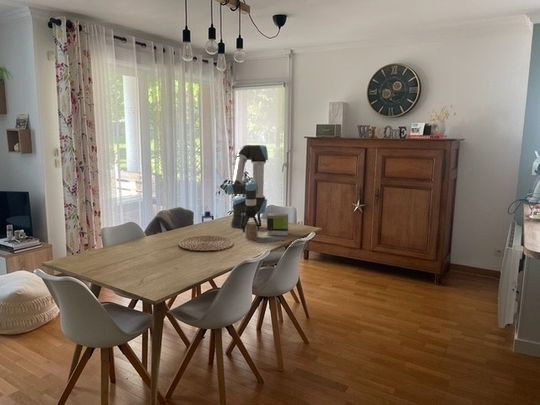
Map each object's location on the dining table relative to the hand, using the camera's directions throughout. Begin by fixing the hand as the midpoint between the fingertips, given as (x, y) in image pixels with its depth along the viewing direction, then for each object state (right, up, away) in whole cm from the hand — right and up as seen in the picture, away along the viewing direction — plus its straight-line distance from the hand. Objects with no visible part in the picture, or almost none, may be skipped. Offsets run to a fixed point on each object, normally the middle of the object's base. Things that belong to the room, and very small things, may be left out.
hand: (250, 236), depth 282 cm
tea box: (+19, +1, +11) cm, 22 cm away
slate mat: (+13, -2, -6) cm, 15 cm away
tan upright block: (0, -1, 0) cm, 1 cm away
